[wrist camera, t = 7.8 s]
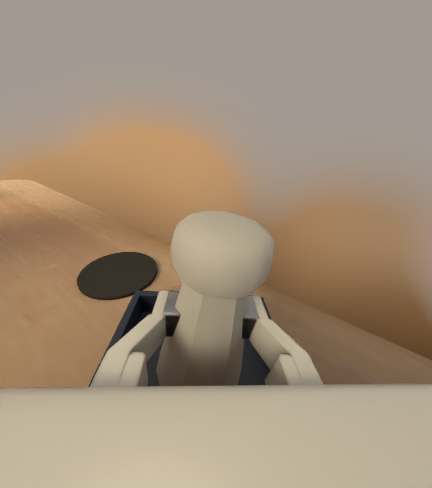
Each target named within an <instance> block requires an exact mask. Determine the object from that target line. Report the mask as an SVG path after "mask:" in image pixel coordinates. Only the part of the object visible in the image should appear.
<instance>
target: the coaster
mask: <svg viewBox="0 0 432 488" xmlns="http://www.w3.org/2000/svg"><path fill="white" fill-rule="evenodd" d="M156 274H157V265H156V262H155V261H154V260H153V259H152V258H151V257H149V256H147V255H145V254H141V253H136V252H121V253H115V254H110V255H107V256H104V257H101V258H99V259H97V260H95V261H93V262H91V263H90V264H88V265H87V266H86V267H85V268H84V269H83V270H82V271H81V272H80V274H79V276H78V279H77V284H78V287H79V289H80V291H81V292H82V293H83V294H85V295H86V296H88V297H91V298H94V299H101V300H112V299H119V298H124V297H127V296H130V295H133V294H134V293H135V291H136V290H140V291H141V290H143V289H144V288H146V287H147V286H148V285H149V284H151V282H152V281H153V280H154V279H155V277H156Z"/></svg>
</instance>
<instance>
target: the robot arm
mask: <svg viewBox="0 0 432 488" xmlns="http://www.w3.org/2000/svg"><path fill="white" fill-rule="evenodd" d="M179 292H180V291H167V290H160V291H159V293H158V296H157V300H156V303H155V306H154V309H153V312H152V314H149V315H148V316H146V317H145V318H144V319H143V320H142V321H141V322H140V323H138V324H137V325H136V326H135V327H134V328H133V329H132V330H130V331H129V332H128V333H127V334H126V335H125V336H124V337H122V338H121V339H120V340H119V341H118V342H117V343H115V344H114V345H113V346H112V347H111V348H110V349H109V350H107V352H106V354H105V356H104V358H103V361H102V363H101V365H100V367H99V369H98V371H97V373H96V375H95V377H94V379H93V381H92V383H91V385H90V387H38V388H0V488H432V384H331V385H324V384H323V382H322V380H321V378H320V376H319V374H318V372H317V370H316V368H315V366H314V364H313V362H312V360H311V358H310V356H309V354H308V353H307V352H306V351H305V350H304V349H303V348H301V347H300V346H299V345H298V344H297V343H296V342H295V341H294V340H293V339H292V338H291V337H290V336H289V335H288V334H286V333H285V332H284V331H283V330H282V329H281V328H280V327H279V326H278V325H277V324H276V323H275V322H274V321H273V320H271V319H269V318H268V315H267V313H266V310H265V308H264V305H263V302H262V300H261V297H260V296H250V295H249V299H248V309H247V311H246V313H245V314H244V316H243V324H242V339H249V341H250V342H251V344H252V345H253V347H254V348H255V349H256V351H257V352H258V353H259V355H260V356H261V358H262V359H263V360H264V362H265V363H266V365H267V366H268V367H269V369H270V372H269V374H268V375H267V377H266V378H265V380H264V381H265V385H230V386H147V385H148V374H147V365H146V363H147V361H148V360H149V359H150V358H151V356H152V355H153V354H154V352H155V351H156V350H157V349H158V347H159V346H160V345H161V343H162V342H163V341H164V340H165V338H166V337H172V336H173V334H174V331H175V329H176V327H177V324H178V322H179V319H180V317H181V314H180V312H179V311H178V310H177V308H176V307H175V305H176V302H177V298H178V295H179Z"/></svg>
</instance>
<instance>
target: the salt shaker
mask: <svg viewBox="0 0 432 488" xmlns="http://www.w3.org/2000/svg"><path fill="white" fill-rule="evenodd" d="M274 247H275V243H274V241H273V239H272V238H271V236H270V234H269V233H268V231H267V230H266V229H265V228H264V226H262V225H260V224H259V223H257V222H255V221H254V220H252V219H249V218H246V217H244V216H241V215H238V214H234V213H229V212H221V211H204V212H196V213H193V214H191V215H190V216H188V217H186V218H185V219H183V220H182V221H180V222H179V223H178V224H177V226H176V229H175V231H174V234H173V239H172V243H171V248H170V251H171V262H172V264H173V266H174V269H175V270H176V272H177V274H178V276H179V278H180V280H181V282H182V285H181V288H180V292H179V295H178V298H177V302H176V305H175V307H176V308H177V310H178V311H179V312H180V314H181V317H180V319H179V322H178V324H177V327H176V329H175V331H174V334H173V336H172V337H166V338H165V340H164V342H163V345H162V348H161V352H160V356H159V360H158V364H157V369H156V372H157V376H158V381H159V385H160V386H230V385H238V382H239V377H240V373H241V367H242V358H243V348H244V339H242V324H243V316H244V314H245V313H246V311H247V309H248V299H249V294H251V293H252V292H253V291H255V290H256V289H257V288H259V287H260V286H261V285H262V284H263V283H264V282H265V280H266V278H267V276H268V274H269V272H270V269H271V264H272V259H273V252H274Z"/></svg>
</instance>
